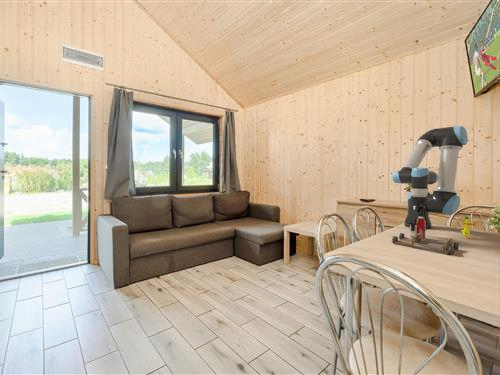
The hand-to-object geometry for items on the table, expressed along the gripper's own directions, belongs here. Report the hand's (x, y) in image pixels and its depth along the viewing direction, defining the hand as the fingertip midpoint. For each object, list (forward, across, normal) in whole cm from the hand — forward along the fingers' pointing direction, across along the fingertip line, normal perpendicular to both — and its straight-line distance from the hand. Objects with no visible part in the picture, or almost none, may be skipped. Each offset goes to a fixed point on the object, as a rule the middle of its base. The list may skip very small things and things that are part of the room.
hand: (417, 234), depth 141 cm
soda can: (+2, 0, 0) cm, 2 cm away
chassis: (+2, +14, +7) cm, 15 cm away
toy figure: (+2, -20, +18) cm, 27 cm away
